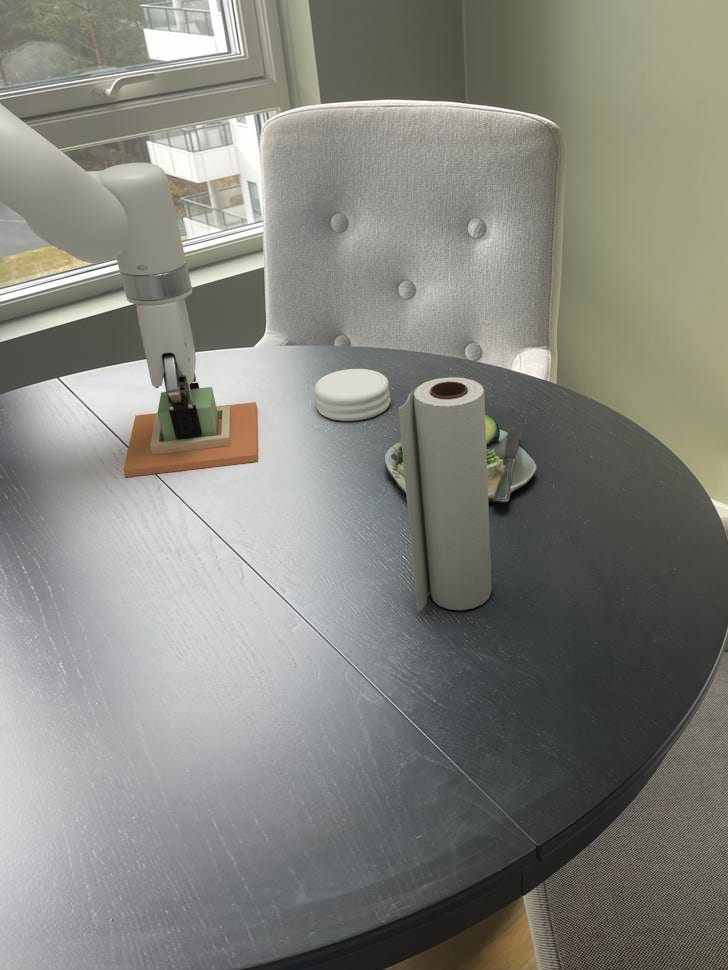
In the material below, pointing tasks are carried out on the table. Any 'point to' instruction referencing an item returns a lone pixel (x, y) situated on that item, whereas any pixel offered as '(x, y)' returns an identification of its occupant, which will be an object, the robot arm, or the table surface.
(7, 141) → the robot arm
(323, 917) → the table surface
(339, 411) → the coaster
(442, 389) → the paper towel roll
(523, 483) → the salad plate
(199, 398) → the green block
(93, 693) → the table surface
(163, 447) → the base mat
